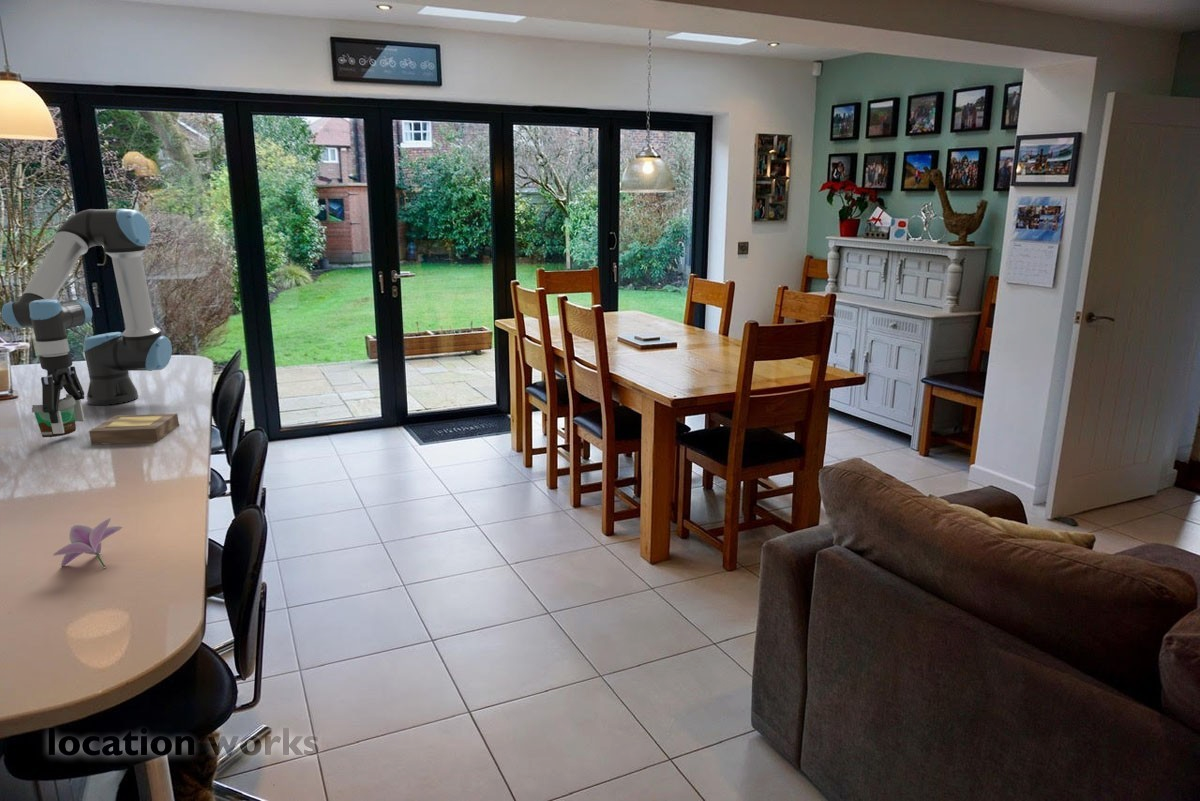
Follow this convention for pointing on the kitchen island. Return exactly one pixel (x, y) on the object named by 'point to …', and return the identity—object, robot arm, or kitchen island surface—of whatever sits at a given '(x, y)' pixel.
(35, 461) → the kitchen island surface
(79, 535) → the lily
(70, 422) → the food container
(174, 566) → the kitchen island surface
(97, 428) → the plate
